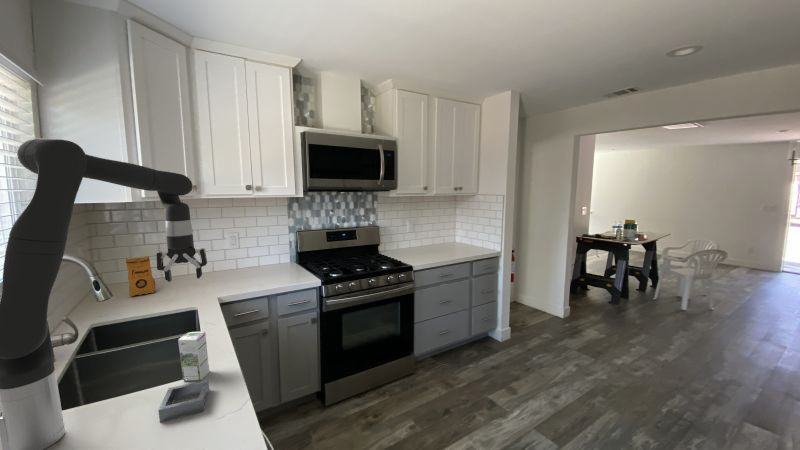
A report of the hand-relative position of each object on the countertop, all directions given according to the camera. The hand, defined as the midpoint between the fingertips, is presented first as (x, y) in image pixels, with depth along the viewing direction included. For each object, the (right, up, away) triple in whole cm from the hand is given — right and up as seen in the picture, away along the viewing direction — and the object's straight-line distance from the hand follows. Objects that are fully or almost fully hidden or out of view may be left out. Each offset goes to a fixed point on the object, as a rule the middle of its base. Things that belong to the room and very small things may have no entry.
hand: (184, 279), depth 112 cm
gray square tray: (+14, -33, -20) cm, 41 cm away
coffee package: (-76, -22, +78) cm, 111 cm away
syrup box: (+8, -31, -6) cm, 33 cm away
